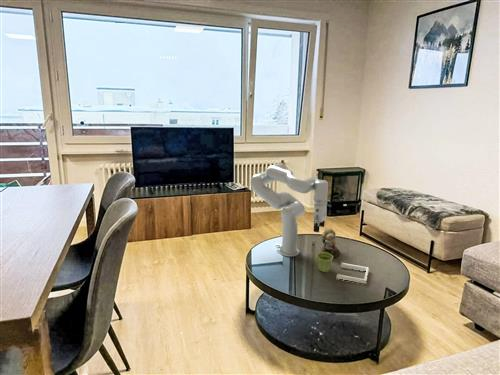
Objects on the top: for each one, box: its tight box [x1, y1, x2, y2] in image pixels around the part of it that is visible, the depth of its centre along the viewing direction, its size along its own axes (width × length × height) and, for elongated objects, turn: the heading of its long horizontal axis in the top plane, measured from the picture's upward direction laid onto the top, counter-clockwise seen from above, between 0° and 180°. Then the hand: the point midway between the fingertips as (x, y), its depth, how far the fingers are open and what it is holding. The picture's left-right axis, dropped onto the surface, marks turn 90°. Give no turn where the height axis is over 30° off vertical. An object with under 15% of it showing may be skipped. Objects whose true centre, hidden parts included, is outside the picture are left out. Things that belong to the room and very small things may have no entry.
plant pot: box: [316, 252, 334, 273], centre depth 194 cm, size 9×9×9 cm
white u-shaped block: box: [336, 261, 370, 284], centre depth 189 cm, size 15×15×3 cm
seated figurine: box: [319, 227, 340, 259], centre depth 214 cm, size 18×12×17 cm, turn 168°
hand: (318, 229), depth 201 cm, fingers open, 9 cm apart
